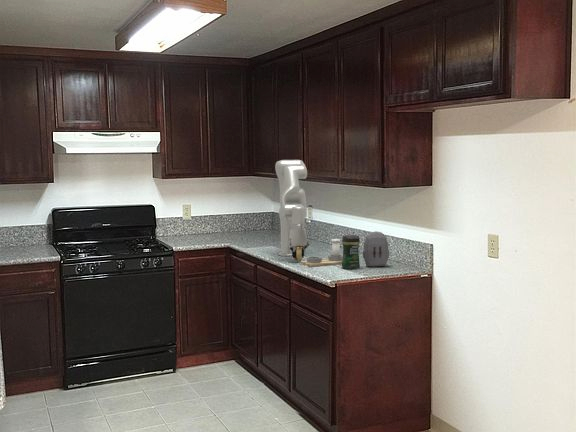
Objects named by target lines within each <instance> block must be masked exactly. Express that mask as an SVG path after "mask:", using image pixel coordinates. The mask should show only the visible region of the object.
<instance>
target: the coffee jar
mask: <svg viewBox="0 0 576 432" xmlns="http://www.w3.org/2000/svg"><path fill="white" fill-rule="evenodd" d="M360 242H361V241H360V235H356V234H348V235H343V236H342V240H341V244H342V250H343V252H342V256H343V258H342V265H341V267H342V268H343V269H344V270H354V269H355V270H356V269H360V266H361V265H360V254H359V248H360V247H359V246H360Z"/></svg>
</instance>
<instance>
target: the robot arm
mask: <svg viewBox="0 0 576 432" xmlns="http://www.w3.org/2000/svg"><path fill="white" fill-rule="evenodd" d="M274 167H275V173H276V176H277V179H278V184H279V195H280V199H279V200H280V201H279V208H278V209H279V210H278V215H279V223H280V252H278V256H281V257H292V258H293V259H294V258H296V252H295V249H296V247H297V246H302V259H303V258H304V257H305V251H306V249H308V247H309V246H310V243H309V242H308V238H307V231H306V230H307V229H306V228H307V226H308V225H307V224H305V219H306V218H307V214H308V213H307V209H308V208H307V198H306V191H305V189H303V188H302V187H300V181H299V180H305V179H306V178H307V177H308V169H307V167H306V164H305V163H304V161H303V160H302V159H301V160H300V159H281V160H278V161H276V162H275V166H274Z"/></svg>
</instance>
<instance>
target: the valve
mask: <svg viewBox="0 0 576 432" xmlns="http://www.w3.org/2000/svg"><path fill="white" fill-rule="evenodd" d="M295 252H296V258H293V260H294V261H297V262H300V261H303V258H302V246H297V247H296V249H295Z"/></svg>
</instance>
